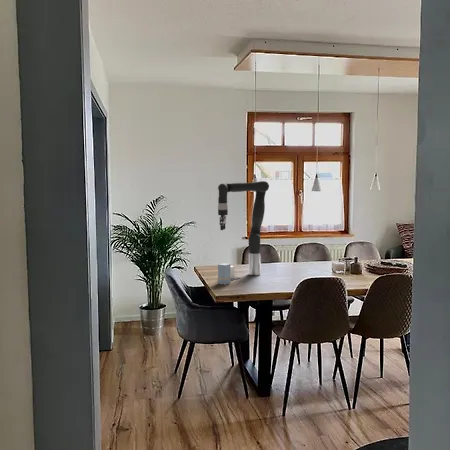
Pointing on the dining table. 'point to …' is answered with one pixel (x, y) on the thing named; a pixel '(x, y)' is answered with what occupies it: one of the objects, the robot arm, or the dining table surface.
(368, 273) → the dining table surface
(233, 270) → the lid
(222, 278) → the grey piece
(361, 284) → the dining table surface
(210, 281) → the dining table surface
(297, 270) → the dining table surface
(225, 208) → the robot arm
